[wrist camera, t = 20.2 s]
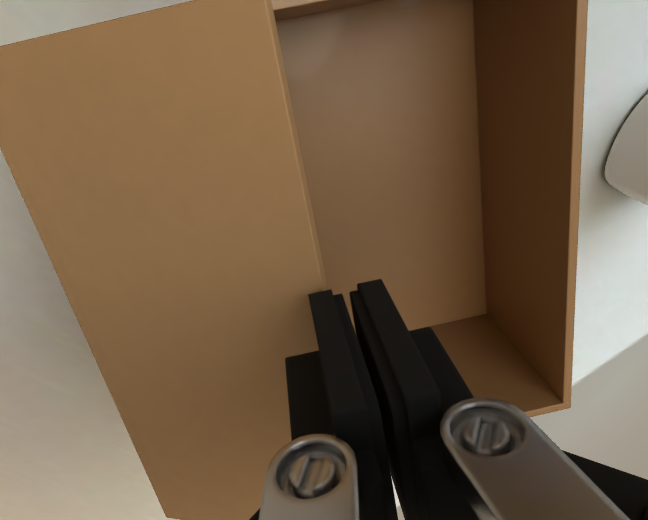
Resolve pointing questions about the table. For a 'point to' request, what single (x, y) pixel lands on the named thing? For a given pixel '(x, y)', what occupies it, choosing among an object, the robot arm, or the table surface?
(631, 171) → the eye dropper bottle
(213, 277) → the carton flap
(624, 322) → the table surface
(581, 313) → the table surface
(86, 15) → the table surface
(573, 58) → the carton
